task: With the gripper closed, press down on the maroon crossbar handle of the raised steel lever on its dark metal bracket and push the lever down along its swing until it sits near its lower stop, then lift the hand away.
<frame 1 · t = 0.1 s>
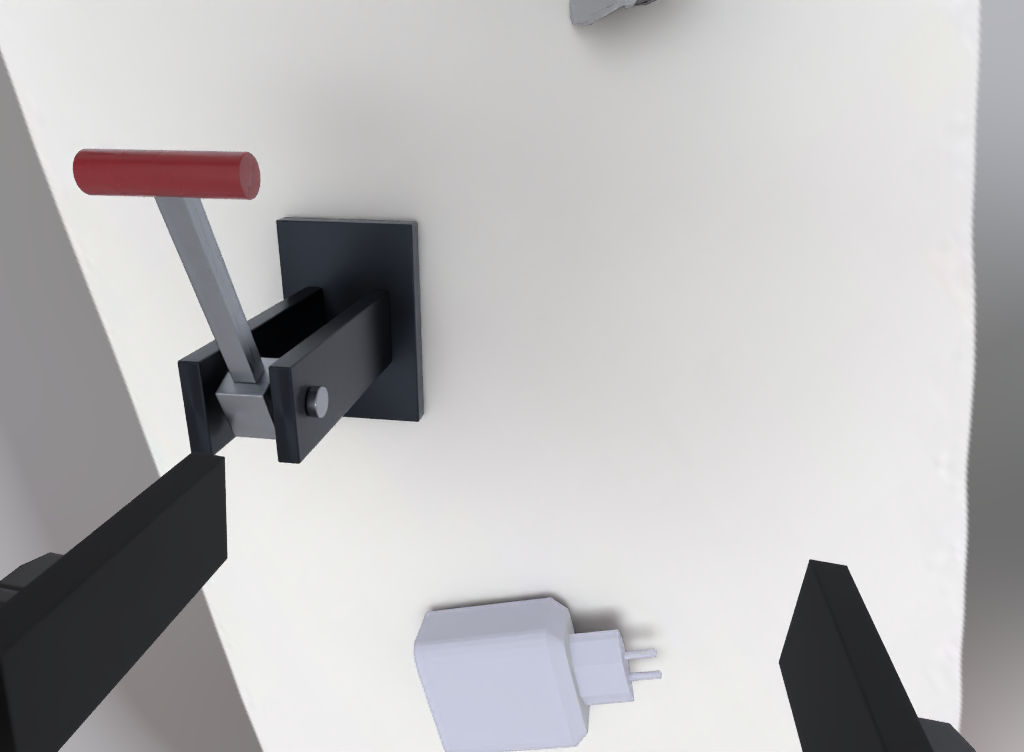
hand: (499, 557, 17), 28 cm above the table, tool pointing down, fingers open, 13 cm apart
lever: (221, 306, 30), point 15 cm above the table, hinge at 24.0°
bracket: (356, 319, 46), on the table
charger: (548, 646, 52), on the table
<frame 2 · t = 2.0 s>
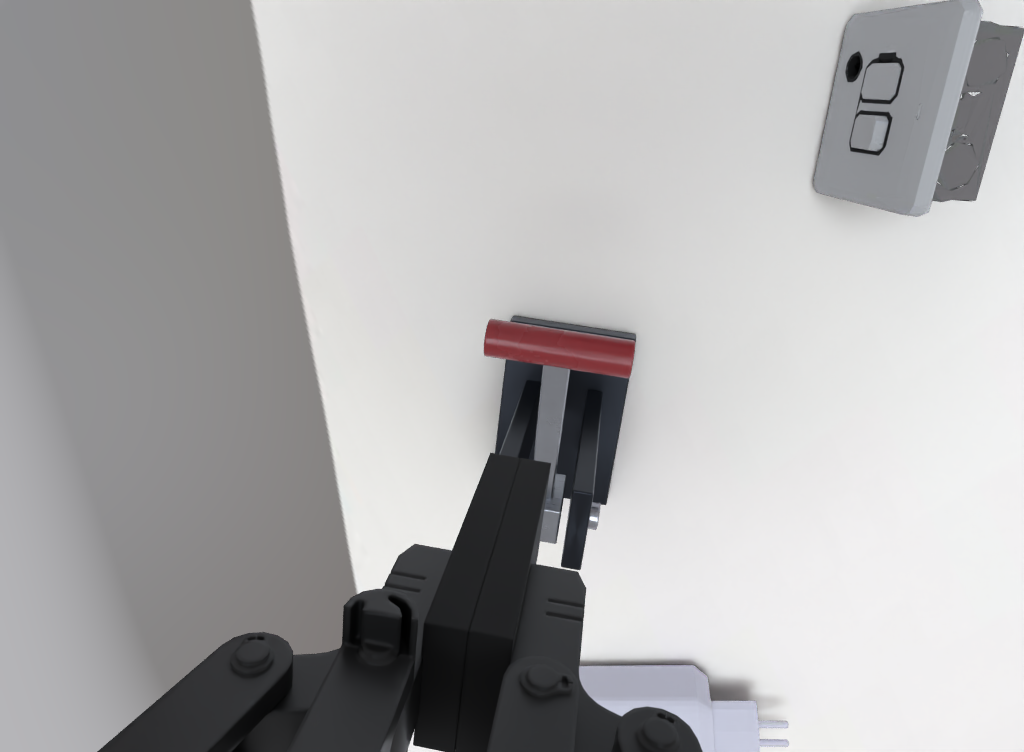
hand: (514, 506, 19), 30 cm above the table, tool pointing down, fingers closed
electrical switch: (877, 105, 42), on the table
lever: (548, 440, 35), point 15 cm above the table, hinge at 24.0°
bracket: (561, 409, 51), on the table
charger: (679, 705, 58), on the table
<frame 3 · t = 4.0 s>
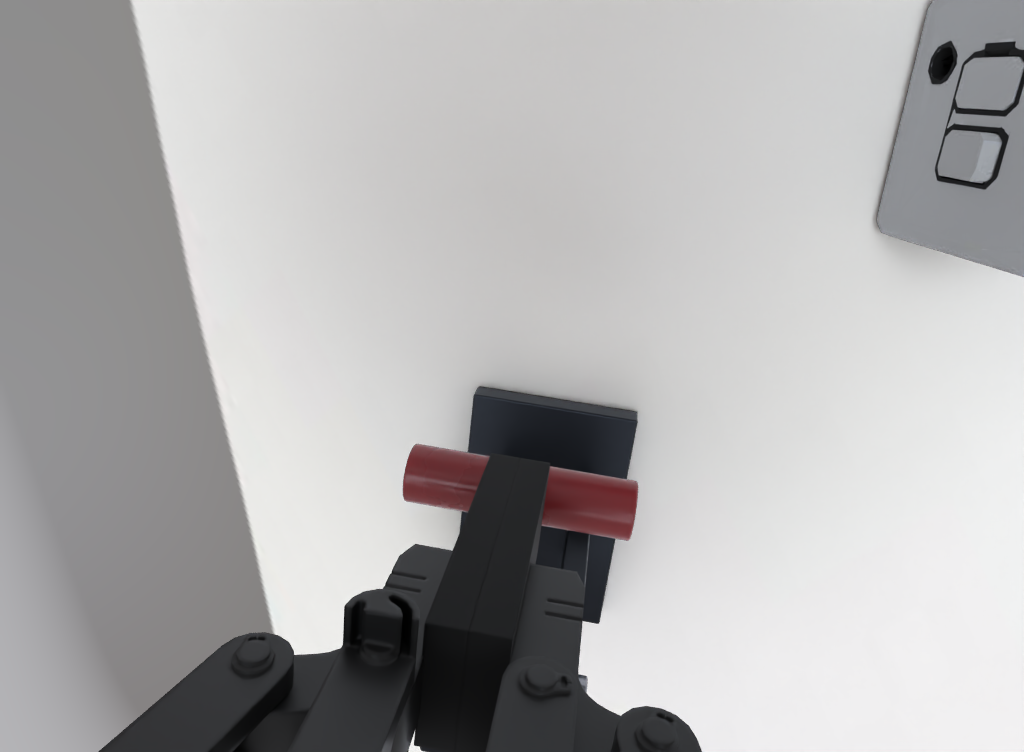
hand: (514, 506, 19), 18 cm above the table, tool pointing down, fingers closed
electrical switch: (967, 116, 31), on the table
lever: (509, 606, 24), point 15 cm above the table, hinge at 22.0°, touching gripper
bracket: (541, 503, 40), on the table
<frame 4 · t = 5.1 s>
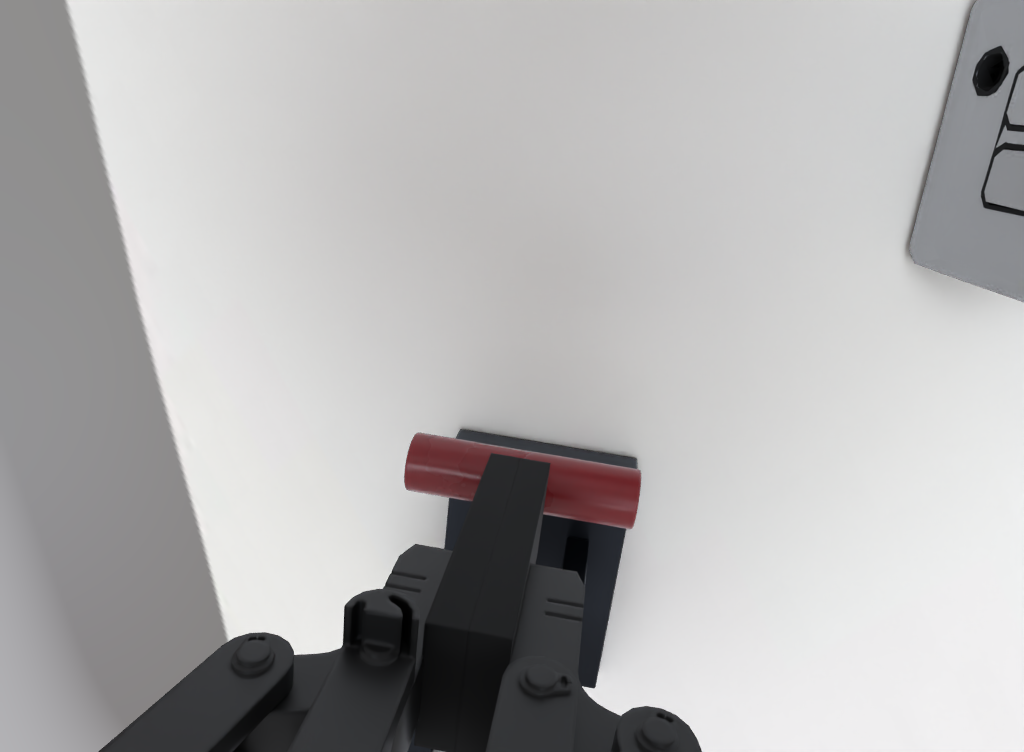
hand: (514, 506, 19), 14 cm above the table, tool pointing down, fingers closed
electrical switch: (1014, 131, 27), on the table
lever: (498, 657, 22), point 13 cm above the table, hinge at -0.9°, touching gripper
bracket: (531, 556, 36), on the table
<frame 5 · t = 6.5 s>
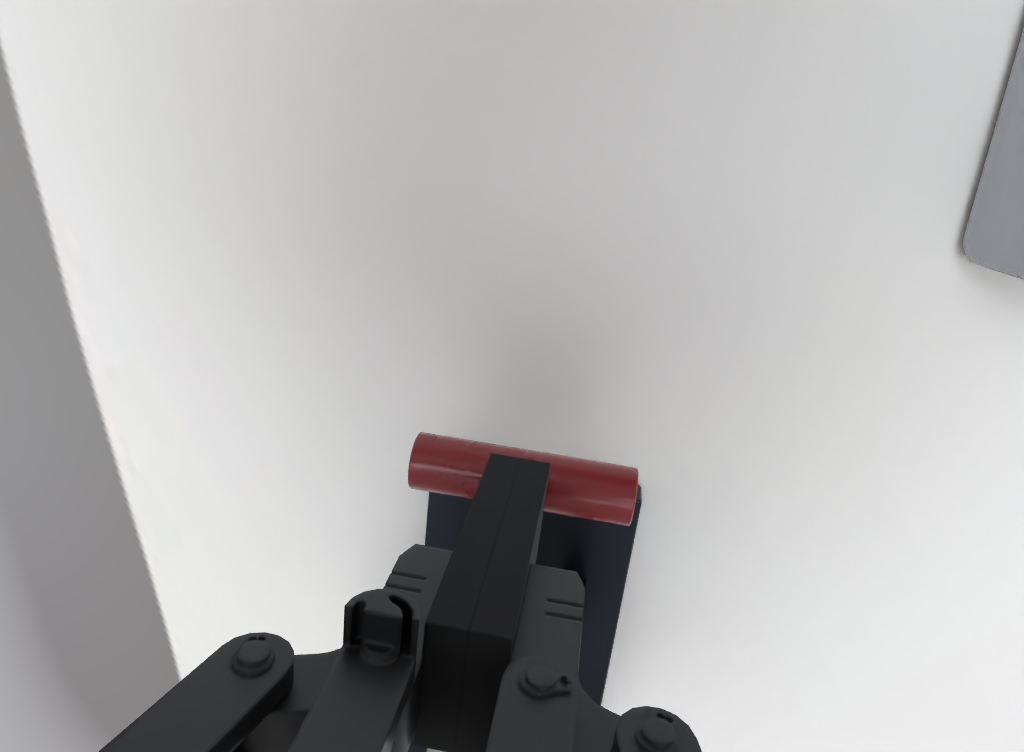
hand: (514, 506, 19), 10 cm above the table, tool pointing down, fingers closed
lever: (486, 697, 20), point 11 cm above the table, hinge at -26.6°, touching gripper
bracket: (520, 595, 31), on the table
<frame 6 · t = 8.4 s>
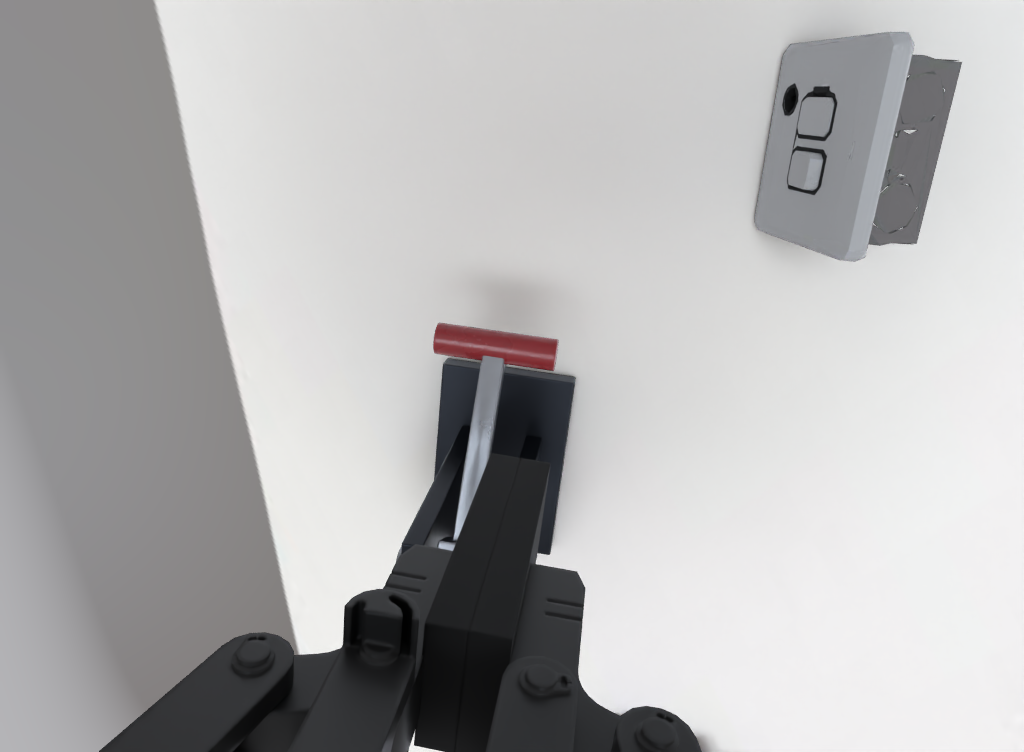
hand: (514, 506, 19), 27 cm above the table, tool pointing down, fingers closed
electrical switch: (819, 138, 40), on the table
lever: (477, 463, 37), point 11 cm above the table, hinge at -26.6°
bracket: (501, 455, 48), on the table
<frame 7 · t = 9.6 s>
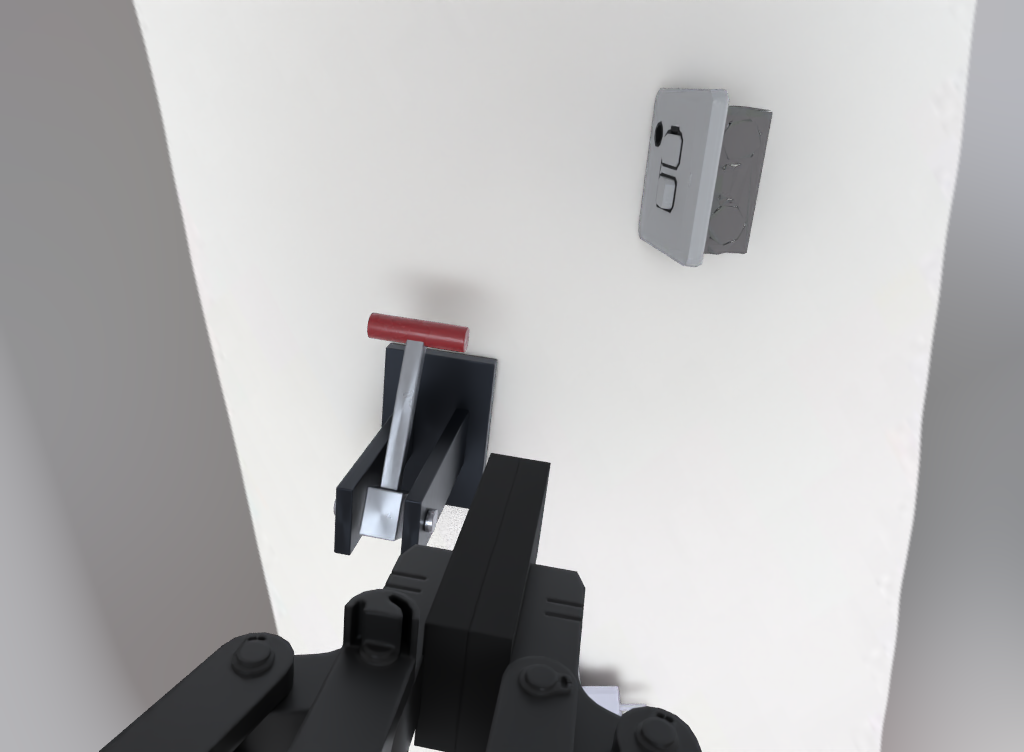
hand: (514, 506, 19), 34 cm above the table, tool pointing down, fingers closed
electrical switch: (689, 164, 48), on the table
lever: (401, 426, 45), point 11 cm above the table, hinge at -26.6°
bracket: (437, 425, 57), on the table
charger: (557, 691, 64), on the table
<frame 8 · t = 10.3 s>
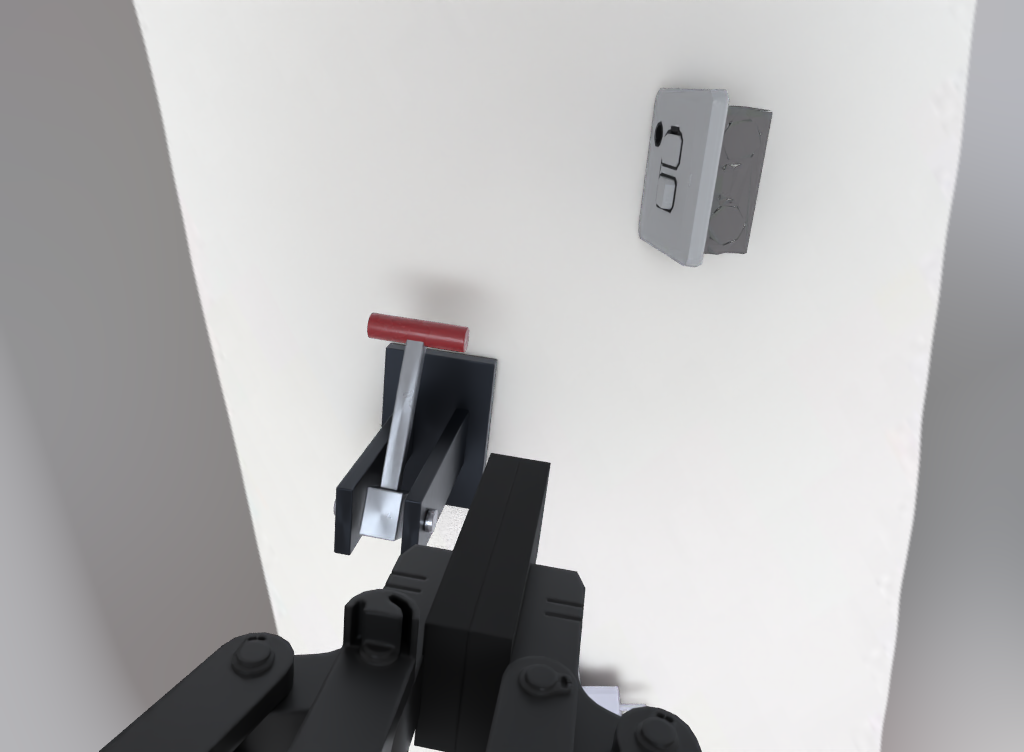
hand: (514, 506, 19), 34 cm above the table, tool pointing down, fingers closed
electrical switch: (689, 164, 48), on the table
lever: (401, 426, 45), point 11 cm above the table, hinge at -26.6°
bracket: (437, 425, 57), on the table
charger: (557, 691, 64), on the table
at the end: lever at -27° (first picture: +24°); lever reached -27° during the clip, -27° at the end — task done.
